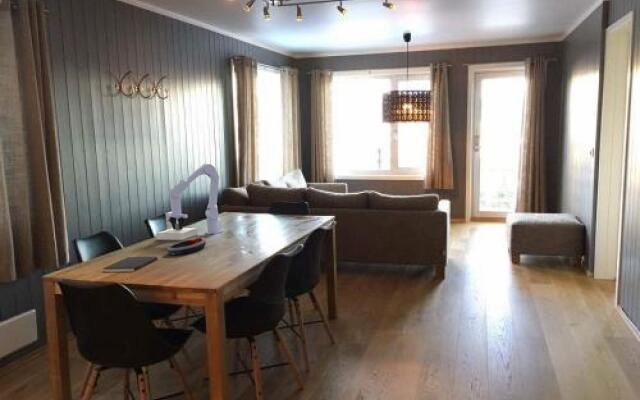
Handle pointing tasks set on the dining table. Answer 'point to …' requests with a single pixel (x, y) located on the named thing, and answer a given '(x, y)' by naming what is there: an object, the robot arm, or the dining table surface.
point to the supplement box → (169, 221)
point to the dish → (186, 246)
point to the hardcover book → (130, 264)
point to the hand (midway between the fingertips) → (178, 229)
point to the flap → (181, 229)
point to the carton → (176, 235)
